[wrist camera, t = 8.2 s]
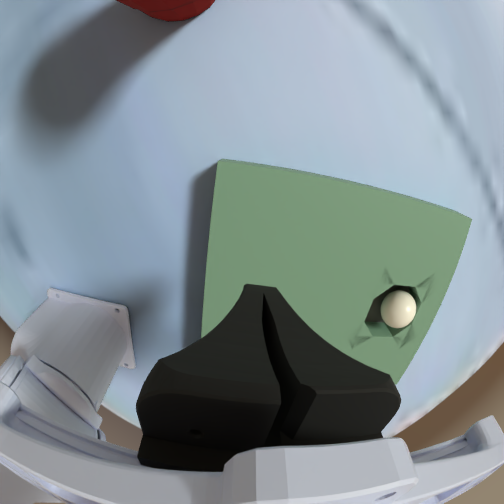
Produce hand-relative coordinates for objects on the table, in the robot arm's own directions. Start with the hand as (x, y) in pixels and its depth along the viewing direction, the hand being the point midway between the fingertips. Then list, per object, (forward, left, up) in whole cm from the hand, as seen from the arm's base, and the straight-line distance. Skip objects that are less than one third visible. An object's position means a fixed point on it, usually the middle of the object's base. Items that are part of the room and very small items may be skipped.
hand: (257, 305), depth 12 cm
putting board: (+7, -4, -9) cm, 12 cm away
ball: (+13, -4, -8) cm, 15 cm away
